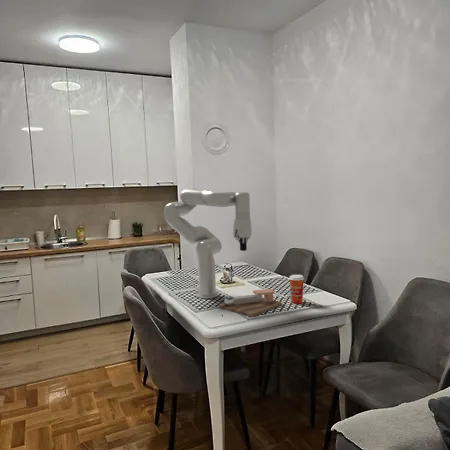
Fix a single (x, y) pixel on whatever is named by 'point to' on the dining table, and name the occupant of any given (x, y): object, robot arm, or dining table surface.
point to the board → (251, 307)
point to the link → (243, 299)
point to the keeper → (265, 294)
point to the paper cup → (296, 288)
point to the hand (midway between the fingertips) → (243, 250)
